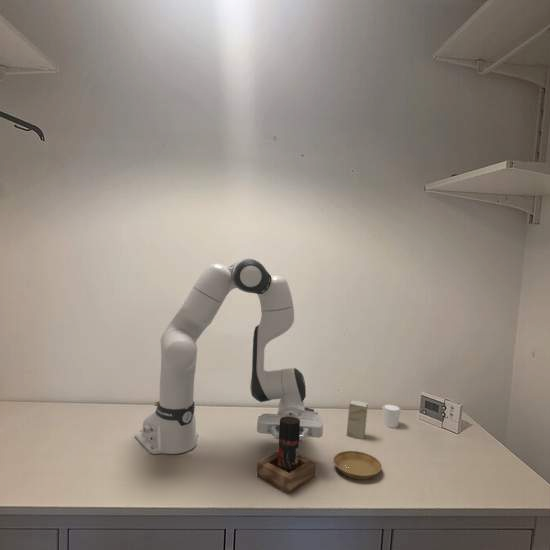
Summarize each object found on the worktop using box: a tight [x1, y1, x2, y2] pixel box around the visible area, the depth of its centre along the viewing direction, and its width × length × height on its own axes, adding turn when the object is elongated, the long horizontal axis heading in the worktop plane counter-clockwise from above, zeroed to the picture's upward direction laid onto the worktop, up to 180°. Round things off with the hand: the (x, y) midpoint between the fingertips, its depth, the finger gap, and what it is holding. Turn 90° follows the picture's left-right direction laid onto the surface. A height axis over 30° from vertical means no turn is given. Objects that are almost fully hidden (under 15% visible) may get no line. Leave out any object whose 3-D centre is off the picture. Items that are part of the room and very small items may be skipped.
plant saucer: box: [333, 450, 382, 480], centre depth 134 cm, size 15×15×3 cm
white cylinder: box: [382, 403, 402, 428], centre depth 168 cm, size 7×7×7 cm
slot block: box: [256, 450, 317, 496], centre depth 127 cm, size 12×12×4 cm
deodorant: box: [277, 417, 300, 473], centre depth 127 cm, size 6×6×15 cm
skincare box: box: [346, 399, 369, 440], centre depth 157 cm, size 6×4×12 cm
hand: (289, 437), depth 126 cm, fingers closed on deodorant, 6 cm apart
